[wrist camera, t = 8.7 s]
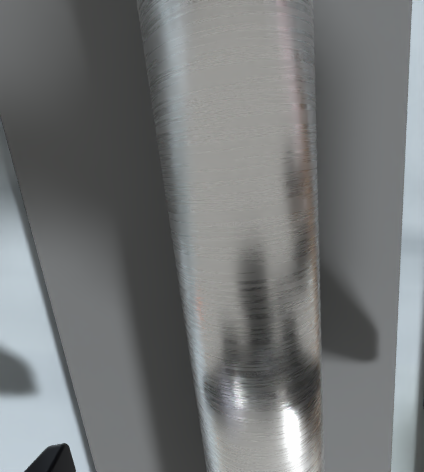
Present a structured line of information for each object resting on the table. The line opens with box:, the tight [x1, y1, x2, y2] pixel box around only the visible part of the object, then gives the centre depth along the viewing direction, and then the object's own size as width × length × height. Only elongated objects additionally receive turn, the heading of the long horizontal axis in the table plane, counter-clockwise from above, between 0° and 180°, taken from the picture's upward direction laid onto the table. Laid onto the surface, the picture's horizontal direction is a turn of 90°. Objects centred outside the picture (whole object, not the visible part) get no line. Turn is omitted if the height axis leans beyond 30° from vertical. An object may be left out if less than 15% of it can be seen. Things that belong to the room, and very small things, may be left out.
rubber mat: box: [0, 0, 412, 472], centre depth 9 cm, size 9×24×1 cm, turn 7°
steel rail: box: [136, 0, 325, 472], centre depth 7 cm, size 28×3×3 cm, turn 6°
